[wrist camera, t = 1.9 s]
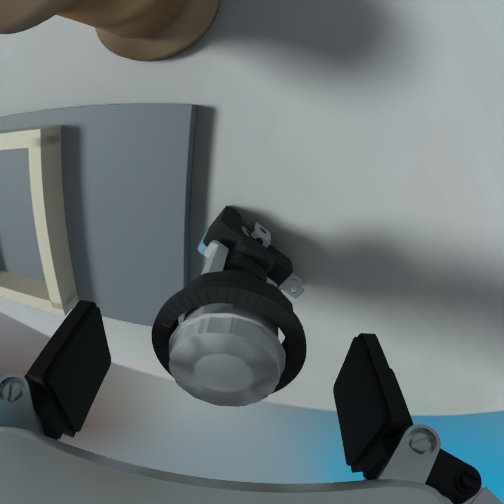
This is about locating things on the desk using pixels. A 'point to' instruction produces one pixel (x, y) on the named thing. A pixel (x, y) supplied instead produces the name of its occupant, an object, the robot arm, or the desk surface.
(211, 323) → the push button
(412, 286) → the desk surface
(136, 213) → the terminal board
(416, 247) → the desk surface
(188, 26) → the wooden cabinet knob
